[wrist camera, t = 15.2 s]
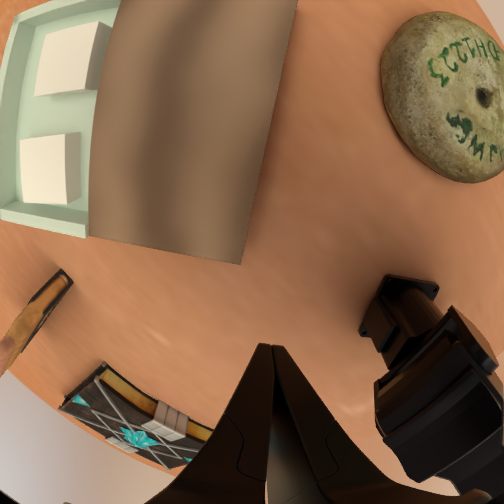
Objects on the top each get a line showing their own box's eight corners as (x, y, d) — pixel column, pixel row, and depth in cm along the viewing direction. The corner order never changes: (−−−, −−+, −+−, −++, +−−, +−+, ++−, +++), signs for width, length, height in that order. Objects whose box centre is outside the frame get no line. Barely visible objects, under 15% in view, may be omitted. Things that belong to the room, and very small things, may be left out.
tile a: (80, 131, 16) (64, 133, 14) (81, 196, 18) (67, 204, 16) (35, 136, 16) (19, 140, 14) (38, 195, 18) (23, 202, 16)
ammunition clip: (61, 267, 22) (-16, 351, 11) (74, 281, 22) (2, 371, 11) (31, 315, 25) (-22, 384, 14) (41, 326, 25) (-9, 397, 14)
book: (65, 393, 32) (53, 416, 28) (103, 355, 27) (87, 387, 22) (172, 455, 39) (168, 477, 34) (238, 435, 34) (236, 465, 29)
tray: (140, -3, 12) (123, -18, 9) (104, 223, 20) (85, 238, 17) (36, 20, 11) (15, 15, 9) (15, 207, 19) (-5, 218, 16)
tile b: (112, 27, 13) (98, 20, 11) (99, 90, 15) (84, 89, 13) (60, 38, 12) (45, 34, 11) (49, 96, 15) (33, 96, 13)
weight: (390, 186, 19) (425, 206, 14) (352, 12, 13) (378, -14, 8) (503, 169, 17) (539, 184, 12) (480, 31, 11) (515, 24, 7)
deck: (294, 7, 13) (299, -8, 11) (242, 248, 21) (240, 265, 18) (140, -3, 12) (126, -15, 10) (104, 223, 20) (89, 235, 17)
